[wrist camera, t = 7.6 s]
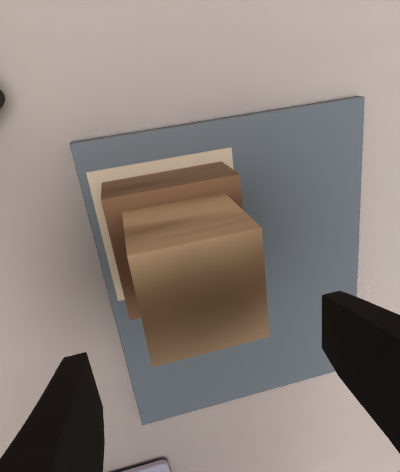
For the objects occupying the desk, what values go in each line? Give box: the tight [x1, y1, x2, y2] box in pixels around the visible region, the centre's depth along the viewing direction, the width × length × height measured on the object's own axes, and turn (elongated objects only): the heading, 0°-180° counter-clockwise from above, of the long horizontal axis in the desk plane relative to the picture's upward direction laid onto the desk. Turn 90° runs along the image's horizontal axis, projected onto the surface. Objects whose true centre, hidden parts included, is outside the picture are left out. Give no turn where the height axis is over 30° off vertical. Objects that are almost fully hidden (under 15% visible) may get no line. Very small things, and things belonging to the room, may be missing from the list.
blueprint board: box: [70, 96, 364, 425], centre depth 23 cm, size 18×15×1 cm
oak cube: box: [122, 193, 270, 367], centre depth 15 cm, size 4×4×4 cm
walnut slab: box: [101, 161, 243, 320], centre depth 19 cm, size 6×6×3 cm
